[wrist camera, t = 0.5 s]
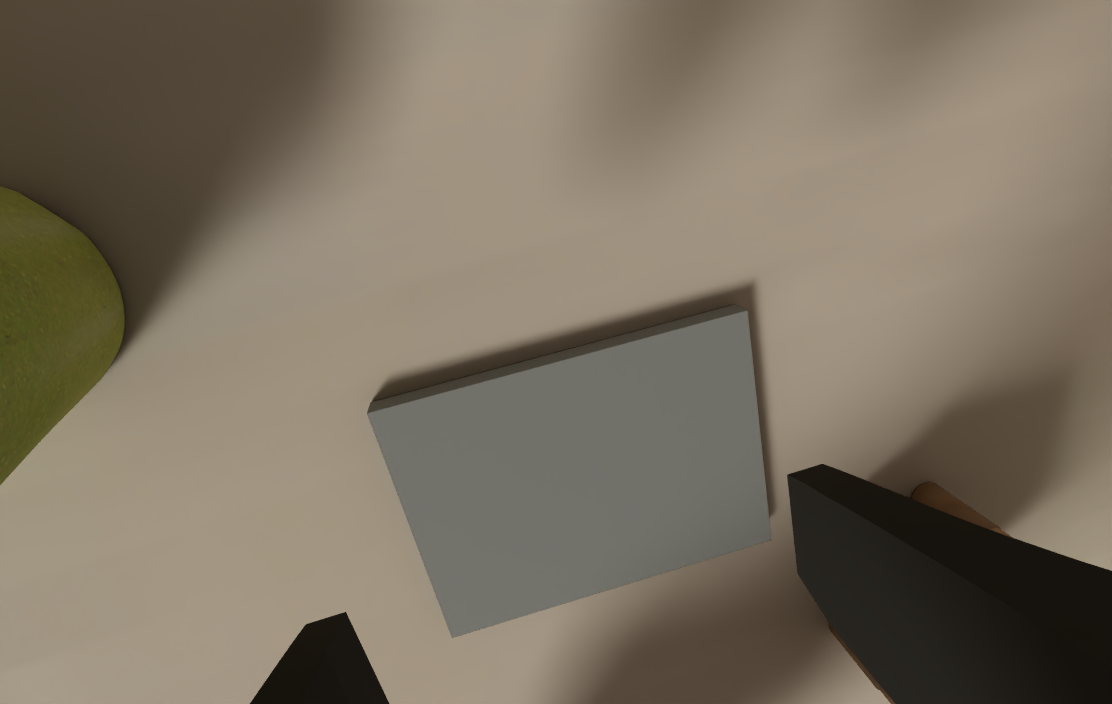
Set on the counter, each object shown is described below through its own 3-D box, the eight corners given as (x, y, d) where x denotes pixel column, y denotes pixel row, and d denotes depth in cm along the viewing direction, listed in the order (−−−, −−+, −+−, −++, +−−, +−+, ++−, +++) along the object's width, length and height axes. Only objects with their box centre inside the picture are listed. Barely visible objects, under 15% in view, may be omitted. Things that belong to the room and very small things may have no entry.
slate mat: (760, 526, 22) (771, 539, 21) (452, 620, 21) (451, 638, 20) (735, 304, 19) (747, 310, 18) (370, 402, 18) (366, 413, 17)
